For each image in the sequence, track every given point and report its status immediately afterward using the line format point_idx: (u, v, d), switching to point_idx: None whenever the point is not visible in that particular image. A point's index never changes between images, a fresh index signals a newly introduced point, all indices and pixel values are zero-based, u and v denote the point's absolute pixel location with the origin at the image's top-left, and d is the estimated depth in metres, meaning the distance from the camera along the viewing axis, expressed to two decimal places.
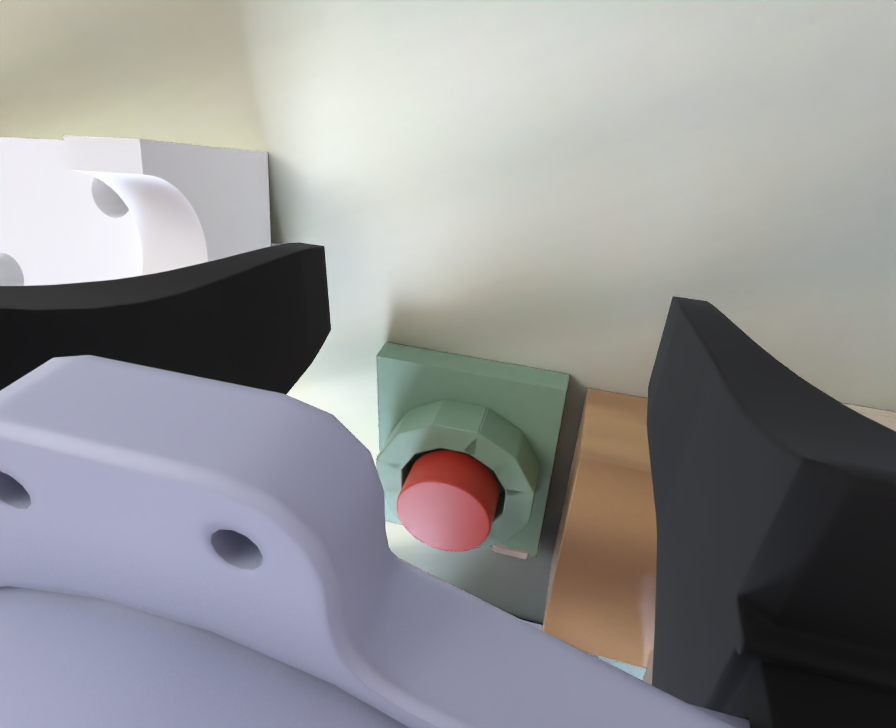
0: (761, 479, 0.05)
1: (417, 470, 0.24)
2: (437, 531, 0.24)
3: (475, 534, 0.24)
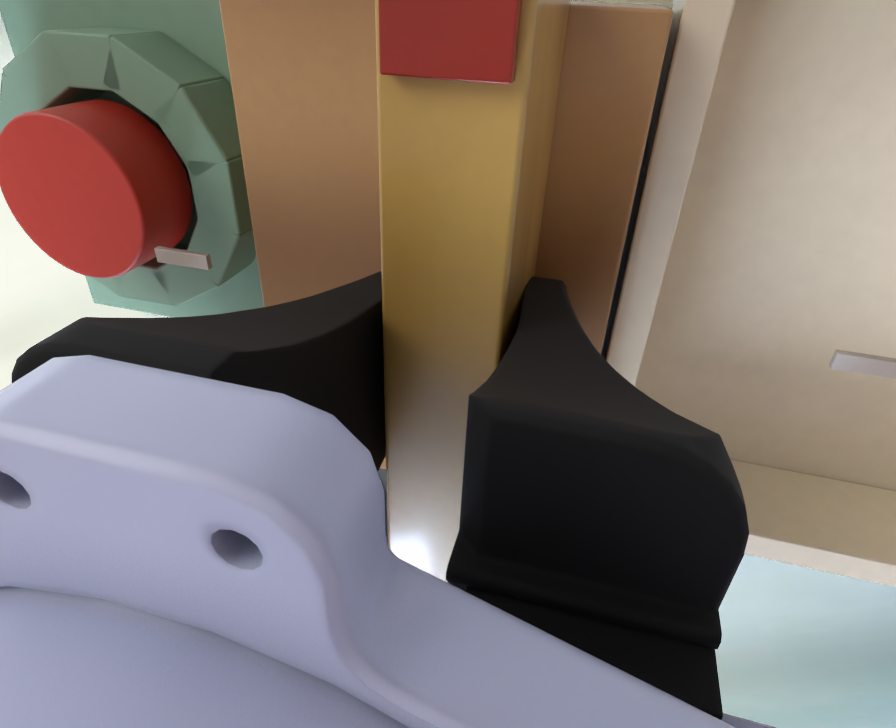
0: None
1: None
2: (73, 236, 0.14)
3: (125, 230, 0.14)
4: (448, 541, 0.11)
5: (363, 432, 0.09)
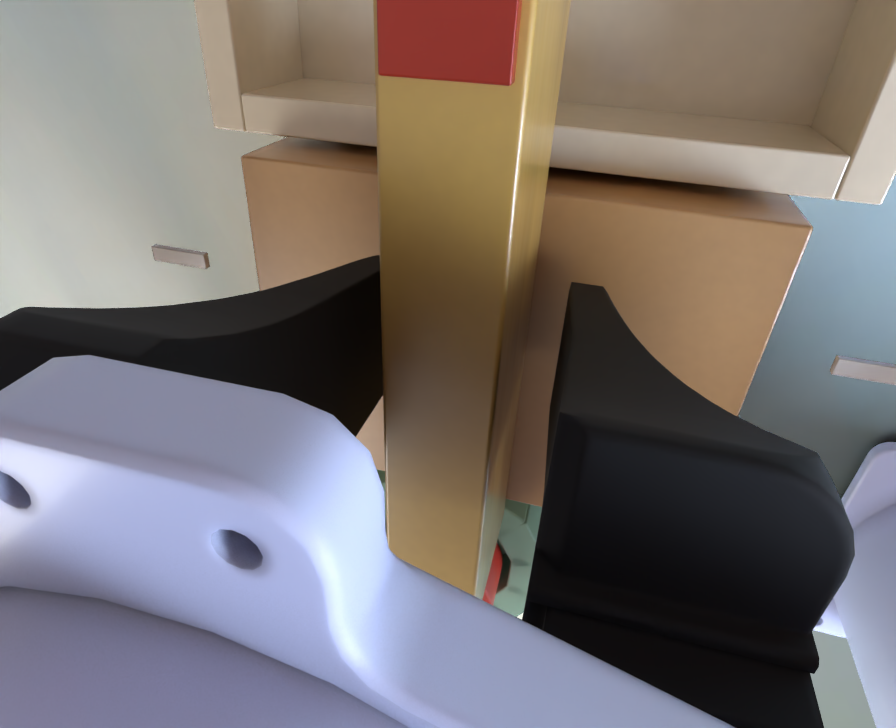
0: None
1: None
2: None
3: None
4: (447, 545, 0.11)
5: None
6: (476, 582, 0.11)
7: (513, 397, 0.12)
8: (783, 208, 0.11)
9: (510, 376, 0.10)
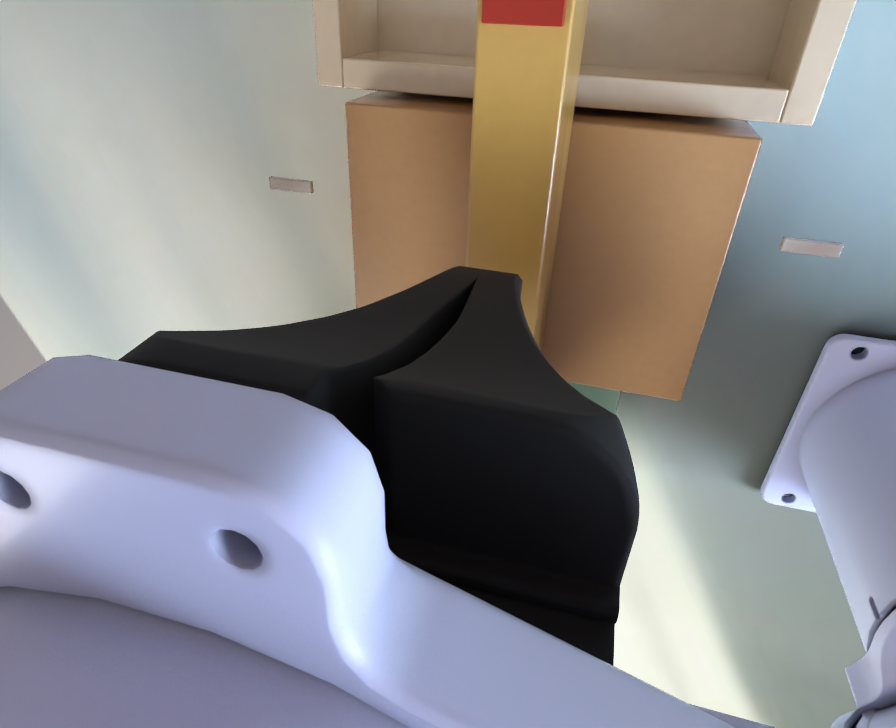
0: None
1: None
2: None
3: None
4: None
5: None
6: None
7: (549, 275, 0.16)
8: (743, 130, 0.15)
9: (550, 248, 0.15)
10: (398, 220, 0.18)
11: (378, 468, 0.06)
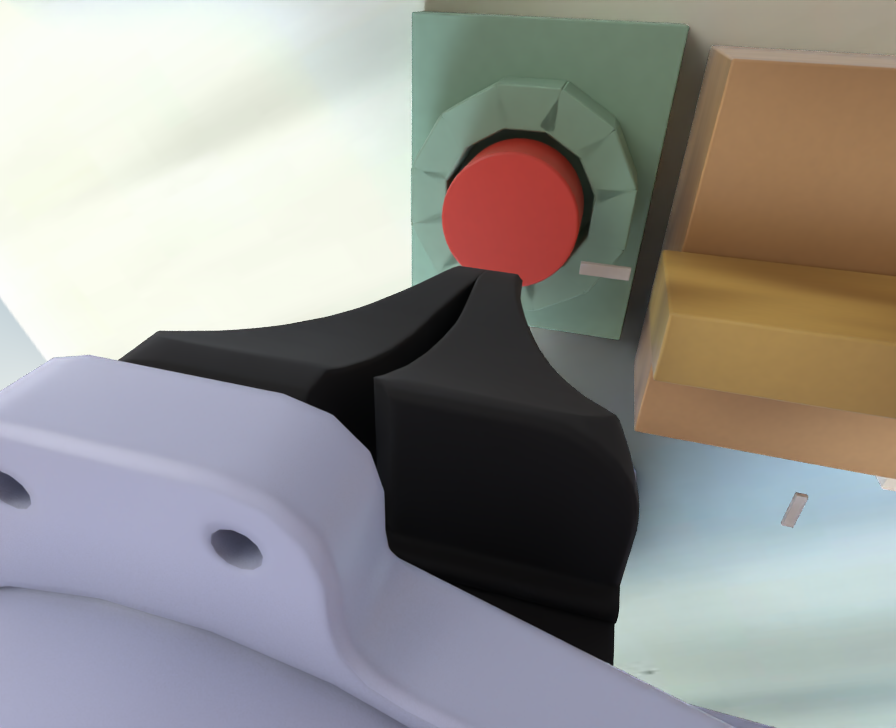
0: None
1: (472, 160, 0.17)
2: (499, 252, 0.17)
3: (555, 247, 0.17)
4: (809, 383, 0.13)
5: None
6: (754, 396, 0.13)
7: None
8: None
9: None
10: None
11: (378, 468, 0.06)
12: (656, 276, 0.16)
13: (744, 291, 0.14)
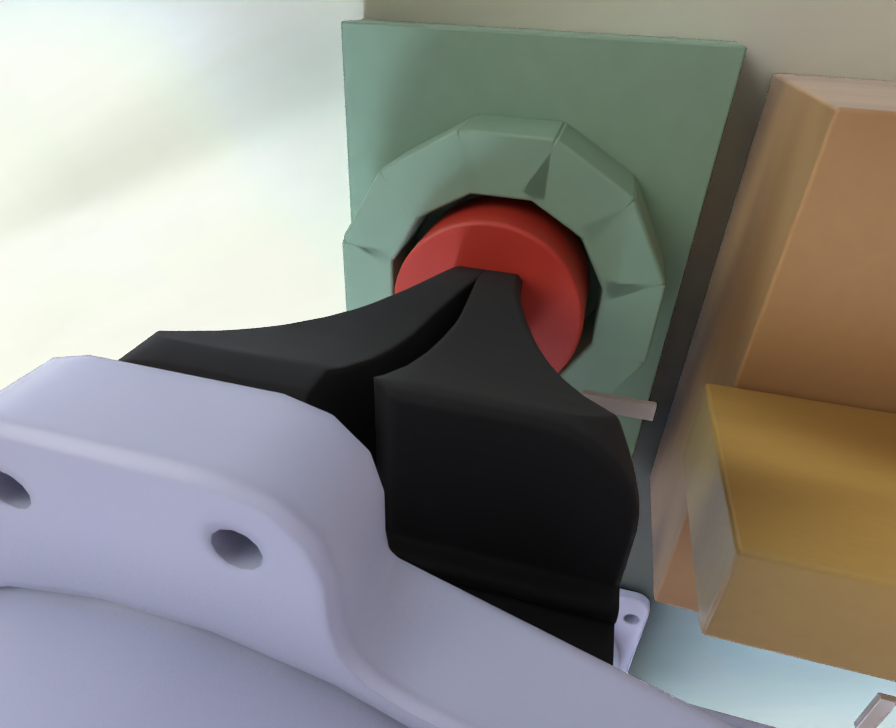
0: None
1: (435, 225, 0.12)
2: None
3: (549, 349, 0.12)
4: None
5: None
6: (872, 673, 0.08)
7: None
8: None
9: None
10: None
11: (378, 468, 0.06)
12: (694, 418, 0.11)
13: (850, 487, 0.08)
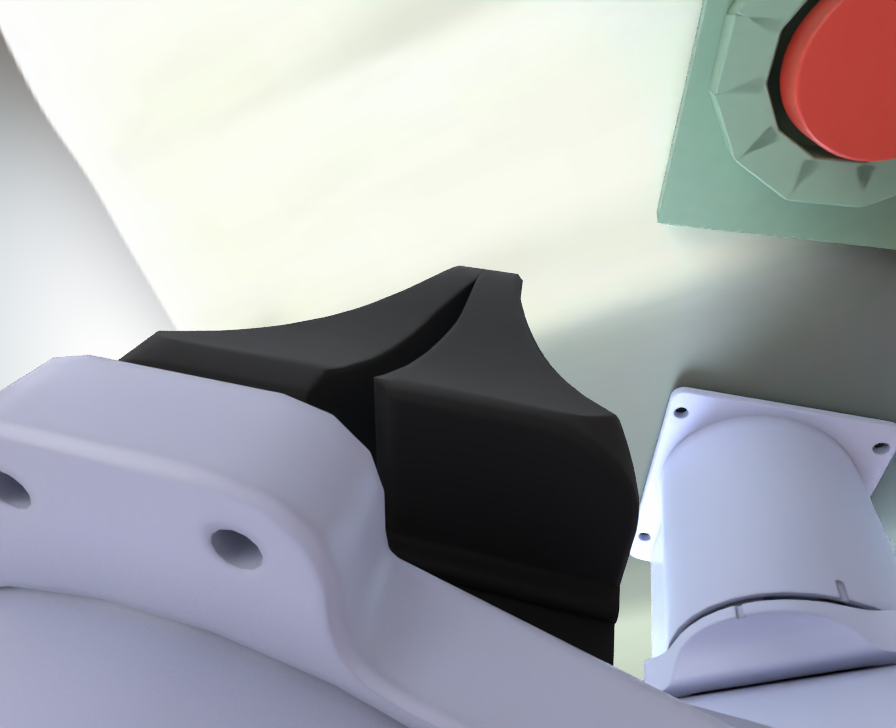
0: None
1: None
2: (873, 110, 0.13)
3: None
4: None
5: None
6: None
7: None
8: None
9: None
10: None
11: (378, 468, 0.06)
12: None
13: None
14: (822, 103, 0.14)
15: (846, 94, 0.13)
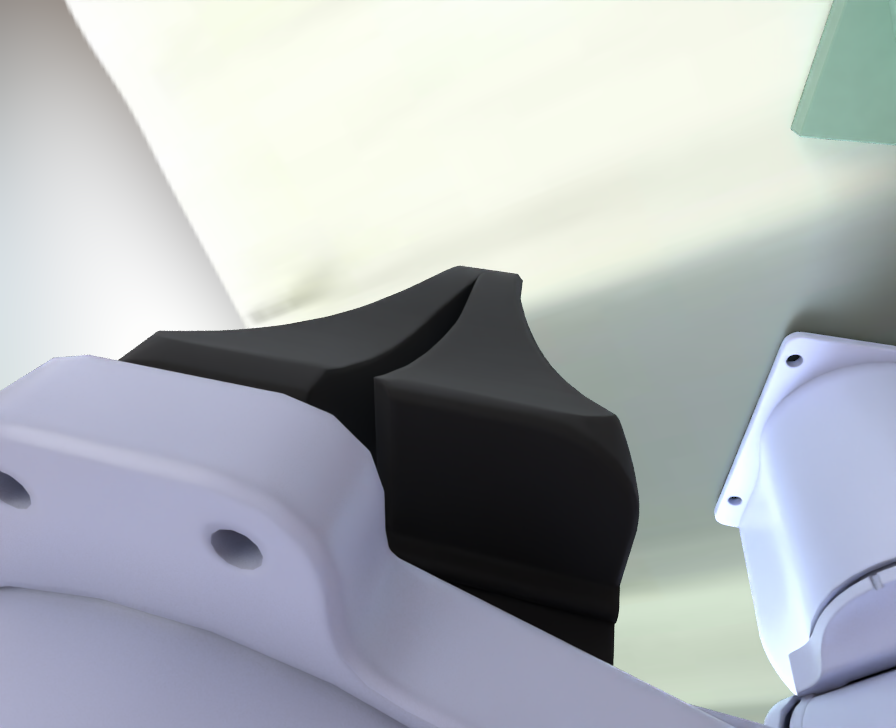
0: None
1: None
2: None
3: None
4: None
5: None
6: None
7: None
8: None
9: None
10: None
11: (378, 468, 0.06)
12: None
13: None
14: None
15: None
